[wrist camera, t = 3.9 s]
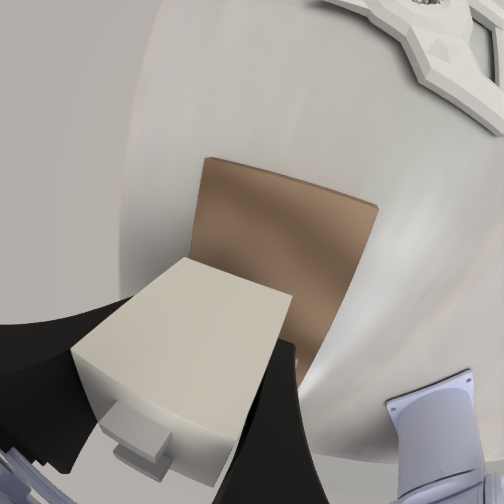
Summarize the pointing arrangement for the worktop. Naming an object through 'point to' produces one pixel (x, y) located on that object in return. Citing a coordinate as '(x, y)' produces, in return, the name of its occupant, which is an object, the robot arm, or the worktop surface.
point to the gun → (446, 49)
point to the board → (283, 243)
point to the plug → (181, 368)
